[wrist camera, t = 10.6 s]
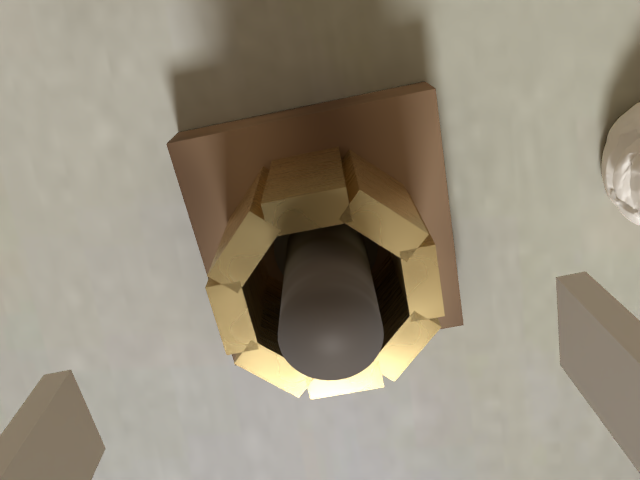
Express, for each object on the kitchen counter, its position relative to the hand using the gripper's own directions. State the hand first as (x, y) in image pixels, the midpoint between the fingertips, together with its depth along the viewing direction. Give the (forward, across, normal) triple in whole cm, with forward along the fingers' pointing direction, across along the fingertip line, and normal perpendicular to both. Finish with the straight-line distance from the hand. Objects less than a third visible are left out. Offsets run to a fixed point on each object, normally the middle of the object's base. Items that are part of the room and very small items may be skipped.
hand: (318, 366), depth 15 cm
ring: (+8, 0, 0) cm, 8 cm away
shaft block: (+10, +1, 0) cm, 10 cm away
